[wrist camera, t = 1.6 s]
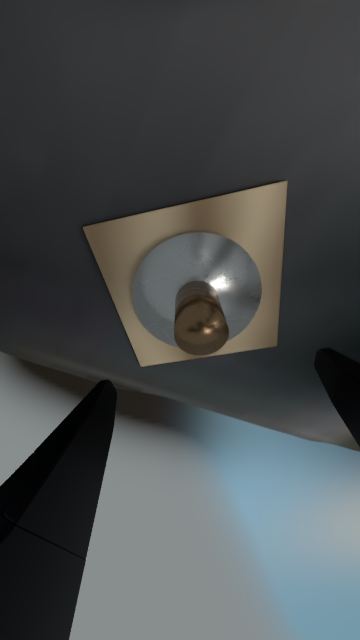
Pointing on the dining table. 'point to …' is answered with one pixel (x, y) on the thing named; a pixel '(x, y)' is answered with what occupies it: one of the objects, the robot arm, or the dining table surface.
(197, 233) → the lid
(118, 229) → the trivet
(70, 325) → the dining table surface
